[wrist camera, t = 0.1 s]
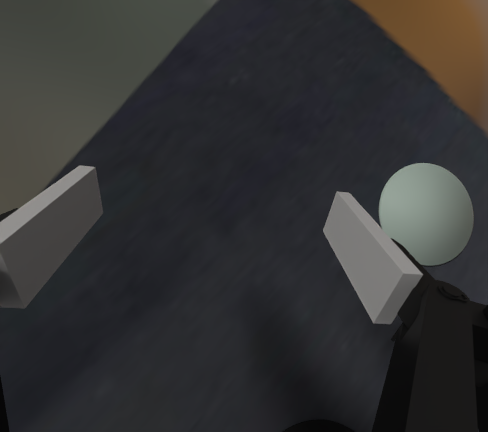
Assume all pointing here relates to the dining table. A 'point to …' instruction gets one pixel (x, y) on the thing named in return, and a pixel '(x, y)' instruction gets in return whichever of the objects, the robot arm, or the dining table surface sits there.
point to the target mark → (427, 213)
